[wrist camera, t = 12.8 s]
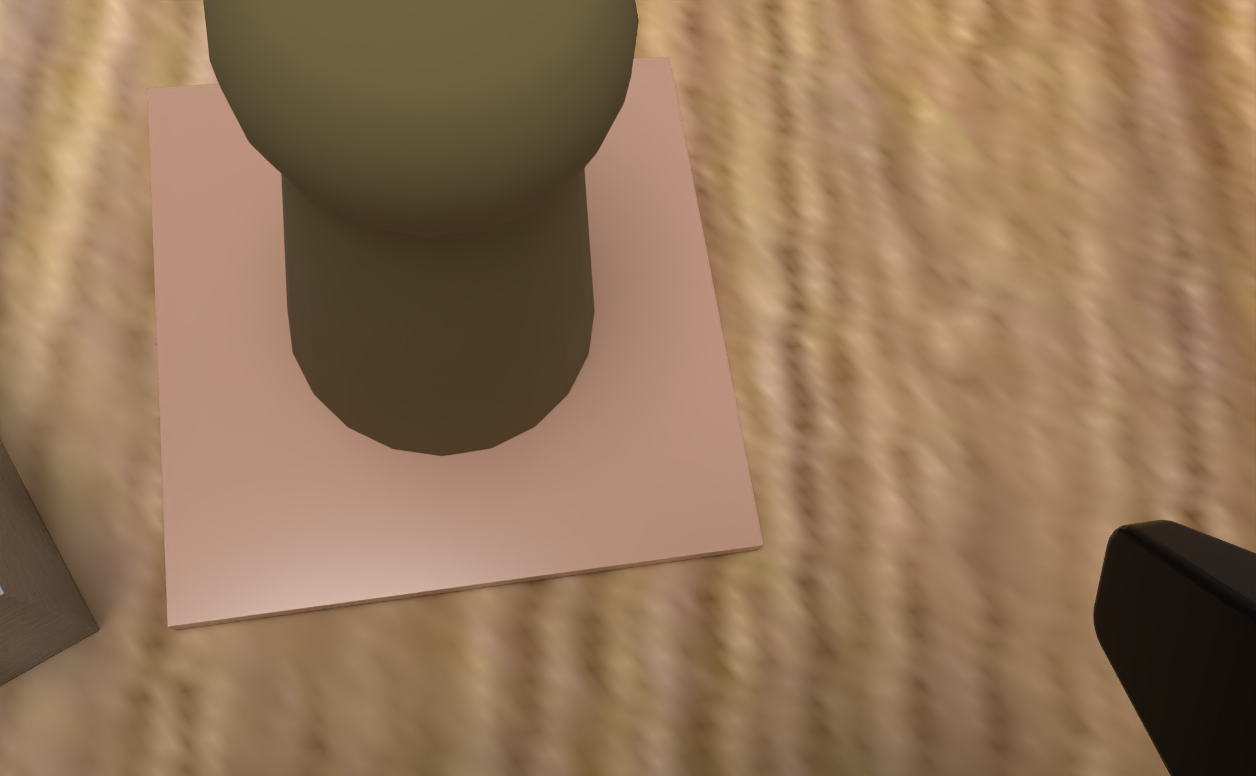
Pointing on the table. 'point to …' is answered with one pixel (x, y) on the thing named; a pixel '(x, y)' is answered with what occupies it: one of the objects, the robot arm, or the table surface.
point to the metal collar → (33, 585)
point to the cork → (431, 197)
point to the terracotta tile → (416, 482)
